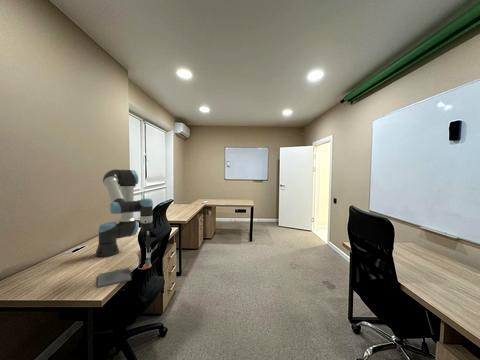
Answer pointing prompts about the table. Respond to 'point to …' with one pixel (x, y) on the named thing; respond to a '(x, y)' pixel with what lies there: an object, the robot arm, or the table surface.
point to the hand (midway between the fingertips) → (146, 254)
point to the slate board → (113, 277)
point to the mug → (147, 261)
